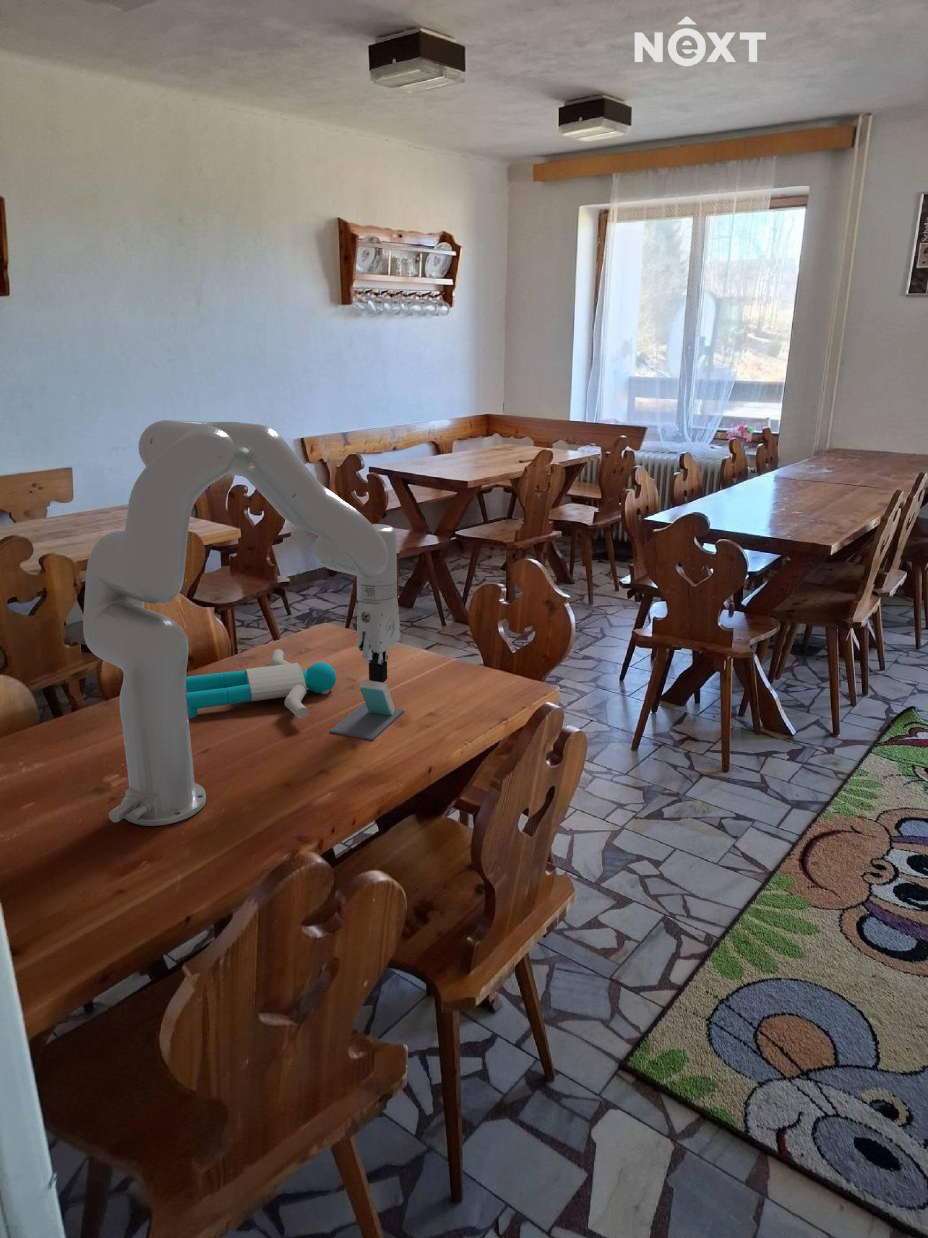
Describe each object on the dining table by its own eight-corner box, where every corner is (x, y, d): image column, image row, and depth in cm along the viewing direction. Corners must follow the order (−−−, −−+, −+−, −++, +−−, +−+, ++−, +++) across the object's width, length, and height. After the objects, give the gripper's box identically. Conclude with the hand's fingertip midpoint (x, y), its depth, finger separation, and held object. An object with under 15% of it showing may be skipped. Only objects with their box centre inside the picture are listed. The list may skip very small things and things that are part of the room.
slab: (391, 717, 165) (382, 691, 160) (368, 713, 167) (358, 687, 161) (395, 709, 166) (386, 683, 161) (372, 705, 168) (362, 679, 162)
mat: (372, 740, 156) (372, 738, 156) (329, 732, 159) (329, 730, 159) (404, 711, 168) (404, 709, 168) (363, 704, 171) (363, 702, 171)
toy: (191, 746, 154) (354, 723, 163) (188, 714, 152) (352, 692, 161) (185, 679, 185) (322, 662, 194) (182, 650, 183) (320, 635, 192)
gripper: (377, 603, 152) (378, 697, 158) (411, 582, 165) (411, 670, 171) (340, 598, 155) (343, 691, 160) (376, 578, 168) (377, 665, 174)
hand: (378, 680), depth 166 cm, fingers closed
